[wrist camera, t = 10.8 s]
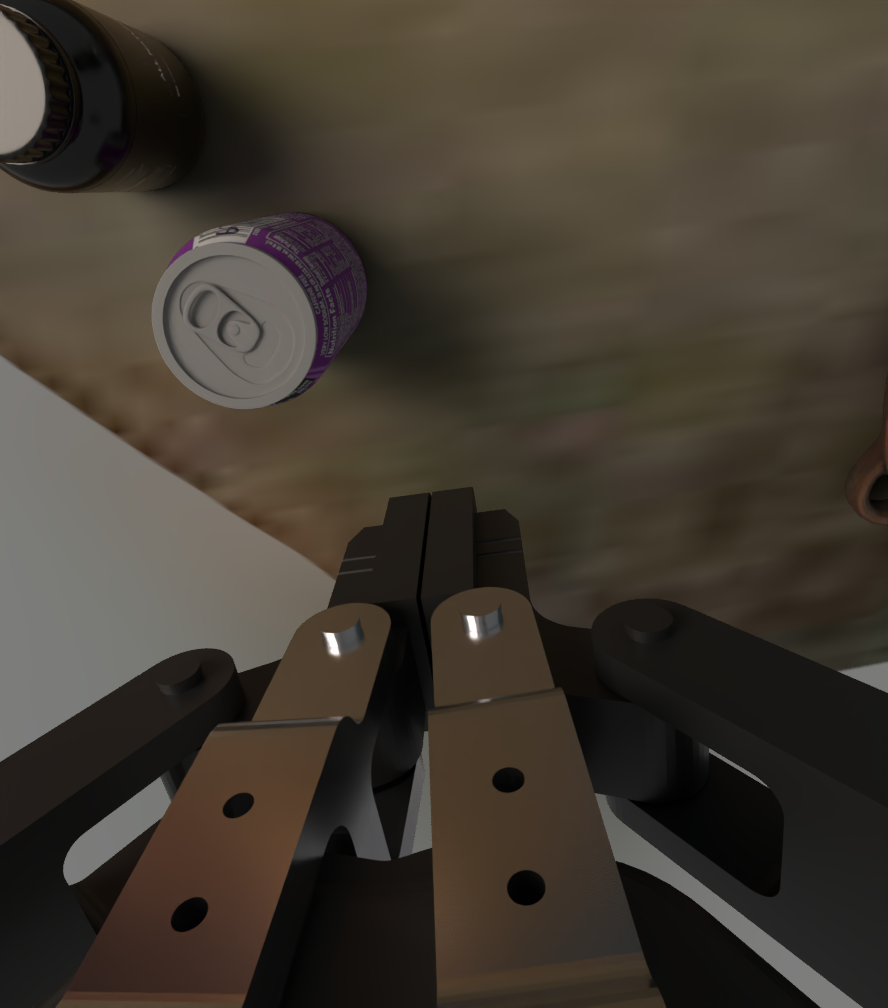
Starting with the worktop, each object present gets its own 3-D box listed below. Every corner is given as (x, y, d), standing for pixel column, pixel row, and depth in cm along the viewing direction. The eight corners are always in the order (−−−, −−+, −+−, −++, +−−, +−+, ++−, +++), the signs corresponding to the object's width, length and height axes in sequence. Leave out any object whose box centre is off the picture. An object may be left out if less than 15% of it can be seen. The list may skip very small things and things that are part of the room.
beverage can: (211, 300, 38) (107, 351, 27) (277, 181, 35) (192, 184, 24) (324, 376, 39) (269, 454, 28) (395, 268, 37) (365, 308, 26)
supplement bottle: (214, 51, 33) (90, -9, 22) (201, 206, 36) (84, 220, 25) (65, 10, 32) (-137, -72, 22) (63, 170, 35) (-117, 169, 24)
